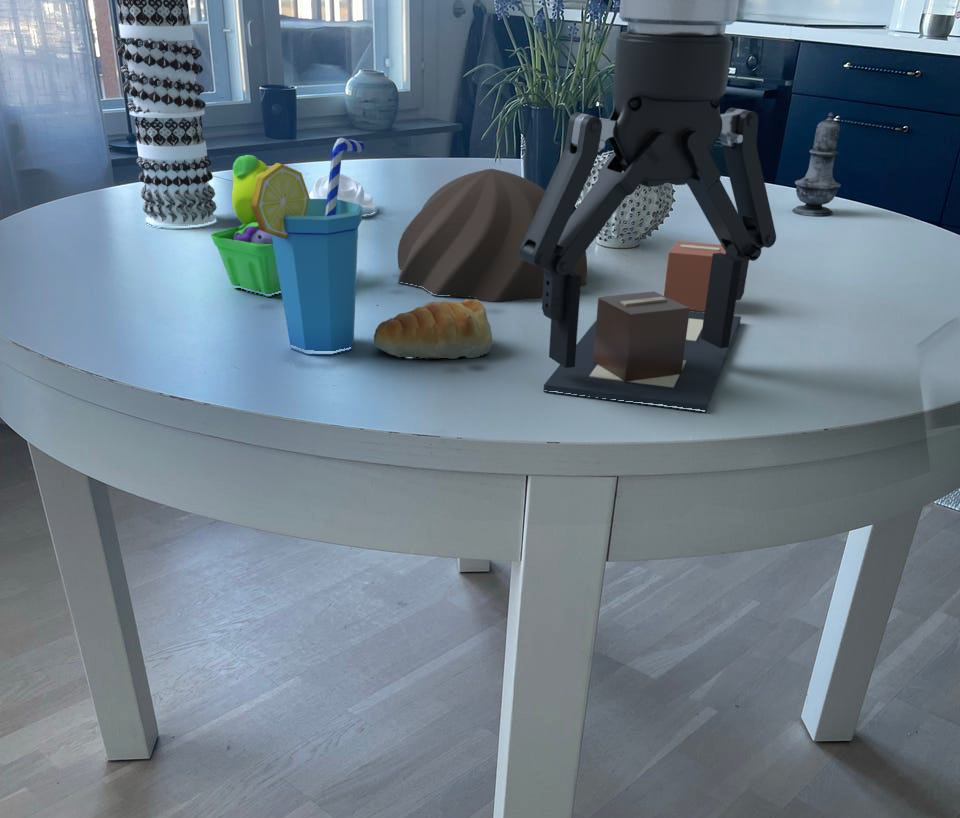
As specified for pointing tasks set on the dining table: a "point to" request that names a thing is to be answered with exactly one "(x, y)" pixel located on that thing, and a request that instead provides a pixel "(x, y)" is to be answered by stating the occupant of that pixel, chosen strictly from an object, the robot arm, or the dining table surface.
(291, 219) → the cup
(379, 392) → the dining table surface
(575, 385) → the word mat
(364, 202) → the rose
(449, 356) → the pastry
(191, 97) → the bracelet display cylinder
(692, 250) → the letter block
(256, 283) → the fruit basket
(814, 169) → the salt shaker
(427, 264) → the decorative dome
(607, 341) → the letter block
